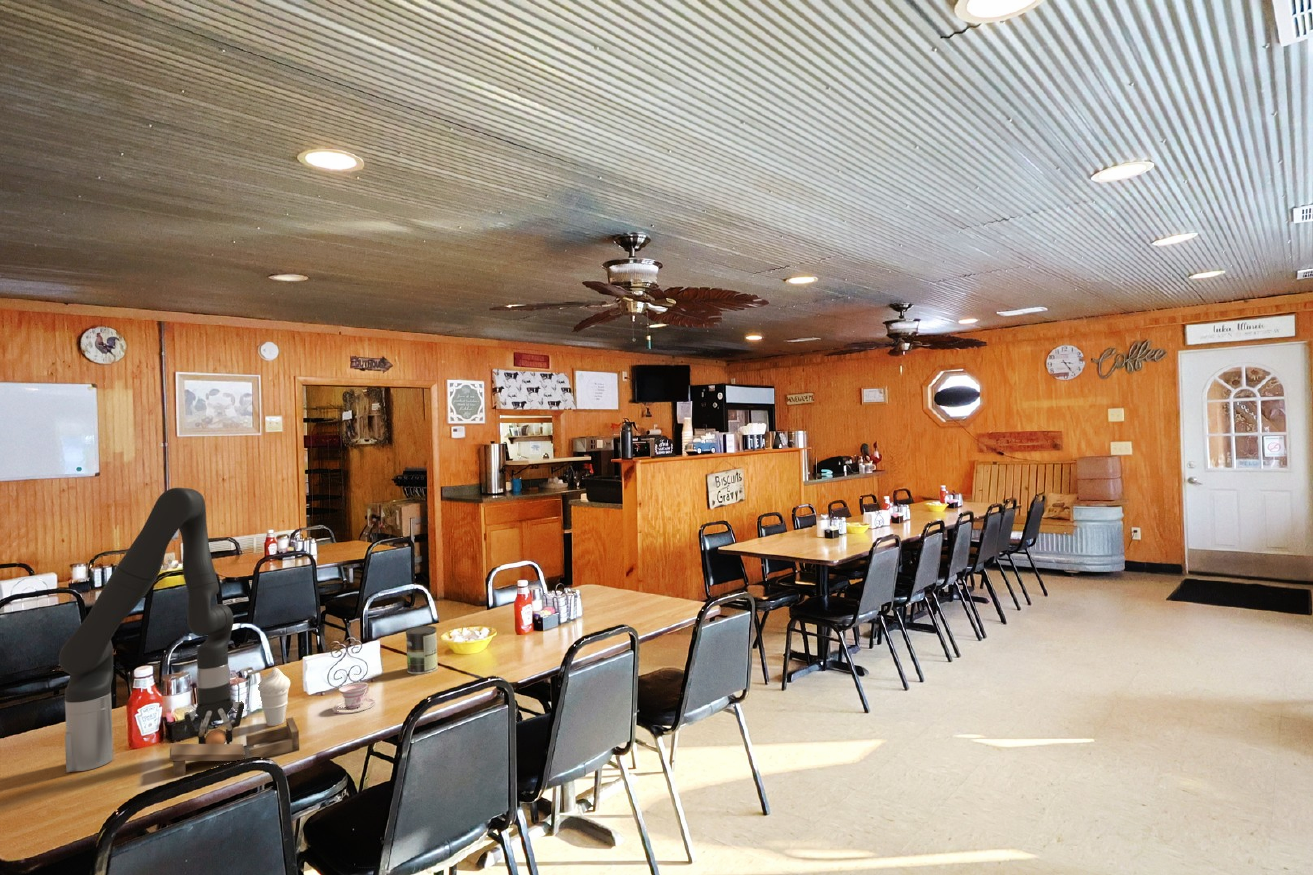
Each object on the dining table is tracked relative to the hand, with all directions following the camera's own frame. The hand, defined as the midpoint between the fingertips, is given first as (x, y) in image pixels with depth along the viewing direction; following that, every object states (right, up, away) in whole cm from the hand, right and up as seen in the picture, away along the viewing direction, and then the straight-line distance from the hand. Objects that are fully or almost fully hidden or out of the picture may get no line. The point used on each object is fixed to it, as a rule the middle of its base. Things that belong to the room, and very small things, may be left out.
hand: (216, 746), depth 192 cm
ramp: (+4, 0, -9) cm, 10 cm away
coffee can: (+35, 0, +62) cm, 71 cm away
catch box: (+15, 0, -1) cm, 15 cm away
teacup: (+25, 0, +28) cm, 37 cm away
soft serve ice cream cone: (+7, -1, +17) cm, 18 cm away
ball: (0, +2, 0) cm, 2 cm away
